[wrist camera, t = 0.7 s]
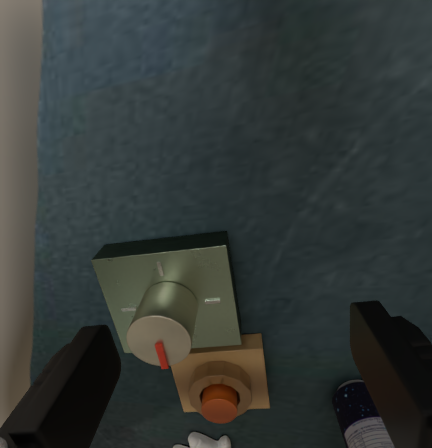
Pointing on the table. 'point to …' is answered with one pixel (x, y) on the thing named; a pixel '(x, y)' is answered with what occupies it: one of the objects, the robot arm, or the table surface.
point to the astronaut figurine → (205, 442)
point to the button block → (224, 374)
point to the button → (219, 403)
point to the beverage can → (359, 417)
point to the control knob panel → (176, 273)
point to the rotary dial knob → (163, 325)
